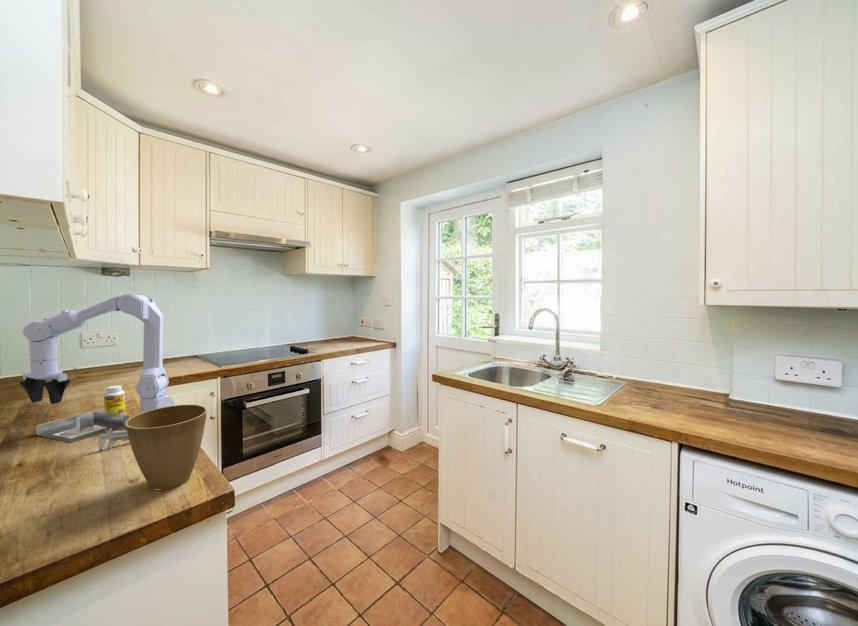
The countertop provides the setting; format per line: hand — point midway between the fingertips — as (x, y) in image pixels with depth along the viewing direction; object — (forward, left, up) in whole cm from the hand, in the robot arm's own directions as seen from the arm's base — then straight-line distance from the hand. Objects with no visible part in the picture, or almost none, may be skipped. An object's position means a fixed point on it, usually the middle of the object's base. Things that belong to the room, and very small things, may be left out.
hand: (46, 402), depth 107 cm
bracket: (-10, -2, -9) cm, 14 cm away
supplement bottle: (-2, -17, -10) cm, 20 cm away
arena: (-9, -4, -9) cm, 14 cm away
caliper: (-36, -5, -10) cm, 38 cm away
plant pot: (-67, +9, -10) cm, 68 cm away
